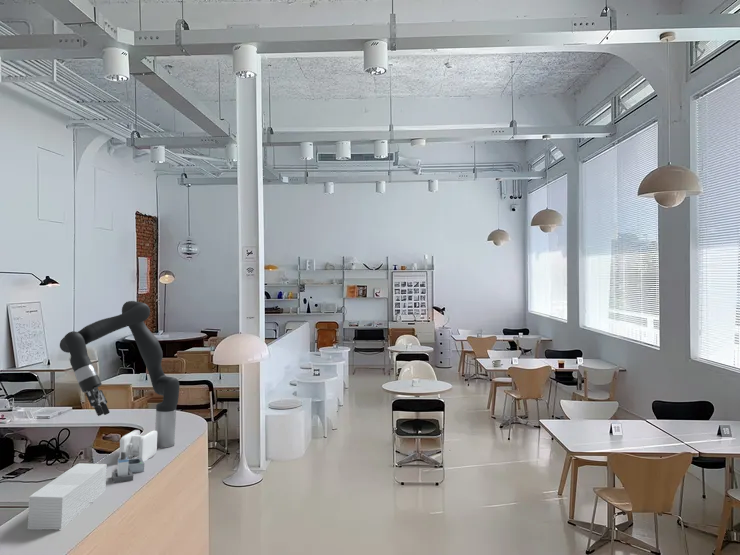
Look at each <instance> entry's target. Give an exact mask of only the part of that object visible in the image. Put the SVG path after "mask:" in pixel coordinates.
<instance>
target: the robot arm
mask: <svg viewBox="0 0 740 555" xmlns="http://www.w3.org/2000/svg"><path fill="white" fill-rule="evenodd" d="M150 315H151V309H150V306H148V304H146V303H145V302H141V301H136V300H128V301H126V302H124V304H122V307H121V314H119V315H114V316H111V317H107V318H103V319H99V320H97V321H95V322H92V323H90V324H88V325H86V326H84V327H83V328H81V329H80V330H77V331H75V330H73V331H70V332H68V333H66V334H65V335H64V336H63V337H62V338H61V340H60V342H59V348H60V350H61V351H62V352H63V353H67V354H70V355H69V356H70V359H69V362H70V366H71V368H72V370H73V372H74V375H75V378H76V379H75V380H77V383H78V385H79V388H80V390H81V392H82V393H85V395H86V398H87V400H88V402H89V405H90V407H92V408H94V410H95V413H96V415H97V417H100V416H102V415H104V416H105V415H106V416H107V415H108V414H110V409H109V408H108V404H107V403H108V400H107V398H106V396H105V394H104V393H103V390H102V389H99V387H100V386H102V384H103V383H102V381H101V380H100V377H99V375H98V372H97V371H96V368H95V367H94V365H93V363H92V361H91V358H90V357H89V355H88V349H87V345H88V344H90V343H92V342H95V341H97V340H99V339H101V338H103V337H105V336H107V335H109V334H111V333H113V332H116V331H119V330H121V329H125V328H127V327H128V328H129V329H130V331H131V334H132V336H133V339H134V341H135V344H136V345H137V348H138V351H139V354H140V356H141V358H142V359H143V362H144V365H145V367H146V370H147V372H148V375H149V379H150V382H151V386H152V389H153V391H154V393H156V394H157V395H159V396H163V397H162V402H158V403H157V404H156V405H155V427H154V431H157V448H163V449H164V448H171V447H174V446H175V444H176V443H175V441H176V440H175V439H176V423H177V422H176V418H177V406H178V403H179V395H180V381H179V379H178V378H176V377H173V376H167V375H166V374H165V373H164V370H163V367H162V362H163V361H162V360H163V357H164V356H163V355H164V354H163V353H164V352H163V350H162V347H161V344H160V342H159V340H158V338H157V337H156V336H155V334H153V332H152V331H151V330H150V329H149V328H148V326H147V325H146V323H145V322H146V321H147V320H148V318H149V317H150Z"/></svg>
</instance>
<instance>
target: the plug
mask: <svg viewBox="0 0 740 555" xmlns="http://www.w3.org/2000/svg"><path fill="white" fill-rule="evenodd" d="M128 464H129V459H128V457H126V452H121V458H119V457H117V467H116V468H117V469H116V472H117V477H120V476H127V475H128Z"/></svg>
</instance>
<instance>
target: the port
mask: <svg viewBox="0 0 740 555" xmlns="http://www.w3.org/2000/svg"><path fill="white" fill-rule="evenodd" d="M128 470H131V472H132V474H136V473H143V472H145V462H143V460H142V458H137V457H136V458H134V457H133V458H132V459H129V464H128Z"/></svg>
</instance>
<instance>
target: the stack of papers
mask: <svg viewBox="0 0 740 555" xmlns="http://www.w3.org/2000/svg"><path fill="white" fill-rule="evenodd" d="M107 466H108V465H107V463H82V462H81V463H80V462H79V463H77V464H75V465H73V466H72V467H71V468H69V469H68V470H66V471H65V472H63V473H62V474H60V475H59V476H57V477H56V478H55V479H53V480H51V481H50V482H49V483H47V484H46V485H44V486H43V487H41V488H39V489H38V490H36V491H35V492H34V493H32V494H31V495H29V496H28V511H27V512H28V513H27V517H28V518H27V520H28V521H27V530H42V529H62V528H63V527H64V526H65V527H66V525H67V524H68V523H69V522H70V521H71V520H72V521H74V520H75V519H76V518H77V517H78V516H79V515H81V514H82V513H83V512H84V511H85V510H86V509H88V507H89V505H90V504H91V503H92V504H93V503H94V501H95V500H96V499H97V498H99V497H100V495H102V494H103V493H104V492H106V488H107V487H106V486H107V469H108V468H107ZM92 504H91V505H92ZM91 505H90V506H91ZM85 508H86V509H85ZM84 509H85V510H84ZM83 510H84V511H83ZM82 511H83V512H82ZM81 512H82V513H81ZM78 514H79V515H78ZM77 515H78V516H77ZM76 516H77V517H76ZM75 517H76V518H75ZM74 518H75V519H74ZM72 521H71V522H72ZM71 522H70V523H71ZM70 523H69V524H70ZM69 524H68V525H69ZM68 525H67V526H68ZM65 527H64V528H65ZM64 528H63V529H64ZM63 529H62V530H63Z"/></svg>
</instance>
